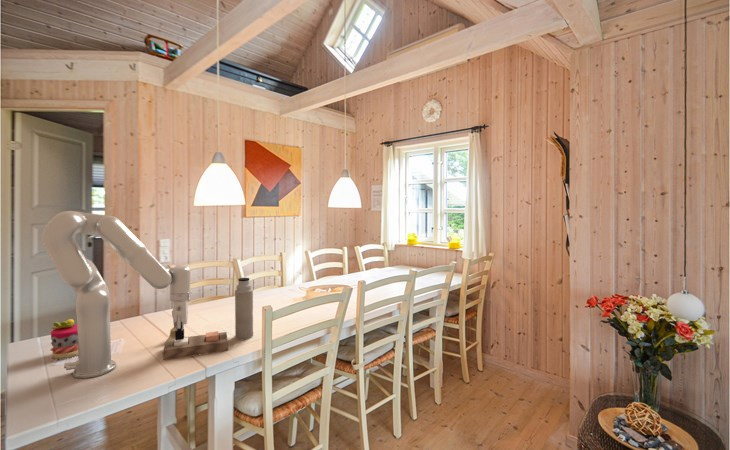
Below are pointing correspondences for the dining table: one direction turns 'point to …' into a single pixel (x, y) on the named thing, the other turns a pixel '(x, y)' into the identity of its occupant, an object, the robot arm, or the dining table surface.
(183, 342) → the white key
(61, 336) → the cake
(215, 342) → the block
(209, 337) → the terracotta key
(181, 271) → the robot arm
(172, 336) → the hand bell
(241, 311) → the thermos bottle
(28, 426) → the dining table surface
